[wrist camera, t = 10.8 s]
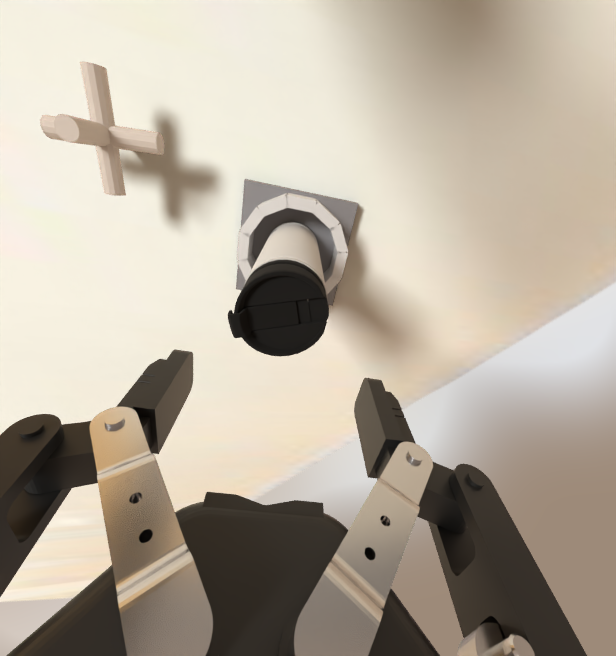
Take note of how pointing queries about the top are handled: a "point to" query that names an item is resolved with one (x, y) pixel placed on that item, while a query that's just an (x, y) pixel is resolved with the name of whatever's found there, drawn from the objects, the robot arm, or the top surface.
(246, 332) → the travel mug
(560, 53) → the top surface
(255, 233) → the duct collar
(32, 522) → the robot arm
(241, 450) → the top surface
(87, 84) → the pipe connector
